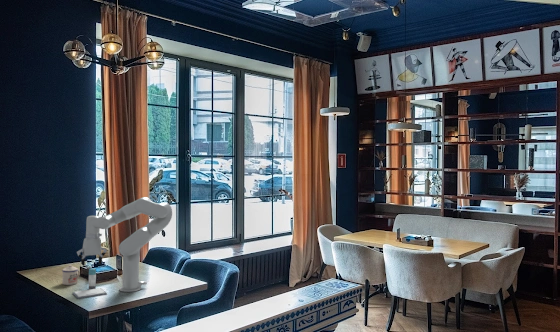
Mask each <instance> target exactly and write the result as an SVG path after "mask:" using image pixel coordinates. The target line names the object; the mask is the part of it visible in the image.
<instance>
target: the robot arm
mask: <svg viewBox="0 0 560 332" xmlns="http://www.w3.org/2000/svg"><path fill="white" fill-rule="evenodd" d="M141 214H143V215H145V216H149V217H153V219H152V220H151V221H150V222H148V223H147V224H146V225H144V226H142V227H140V228H139V229H137V230H136V231H134V232H132V234H130V235H129V236H128V237H127V238H125V239H124V240H123V241H121V242H120V244H119V246H118V252H119V254H120V255H121V256H122V282H121V283H122V286H120V287H119V291H121V292H123V293H134V292H137V291H141V290H142V286H146V285H147V281H146V280H145V281H143V280H140V277H139V275H140V252H141V249H142V248H143V247H144V246H145V245H147V244H148V243H149V242H151V241H152V239H153V238H154V237H156V236H157V235H158V234H159V233H160V232H161V231H163V230H164V229H165V228H166V227H167V226H168V225H169V224H170V222H171V221H172V218H173V208H172V206H171V205H170V203H169V202H161V203H158V202H154V201H152V199H151V198H149V197H147V196H143V197H140V198H138V199H136V200H135V201H132V202H130V203H127V204H126V205H124V206H122V207H121V208H120V209H119V208H118V209H117V210H116V211H113V212H112V213H111V212H110V213H109V214H107V215H104V216H99V215H89V216H87V217H86V224H85V225H86V226H85V227H86V228H85V229H86V231H85V238H84V239H83V242H82V248H81V249H79V250H78V251H76V254H77V256H78V257H79V258H80V261H81V262H80V265H82V266H85V265H86V264H85V262H86V261H85V260H86V259H85V258H86V257H88V256H98V264H100V265H102V263H103V257H104V256H105V255H106V253H107V251H108V249H107V248H104V247H102V239H101V237H102V235H103V233H100V229H101V230H107V229H109V228H111V227H113V226H115V225H118V224H119V223H122V222H123V221H127V220H131V219H132V218H135V217H137V216H138V215H141ZM102 251H103V252H102ZM81 253H82V255H81Z"/></svg>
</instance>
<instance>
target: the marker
mask: <svg viewBox="0 0 560 332" xmlns="http://www.w3.org/2000/svg"><path fill="white" fill-rule="evenodd" d="M96 282H97V269H96V268H95V267H94V268H89V269H88V290H90V289H97V287H96V286H97V283H96Z"/></svg>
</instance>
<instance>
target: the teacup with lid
mask: <svg viewBox="0 0 560 332" xmlns="http://www.w3.org/2000/svg"><path fill="white" fill-rule="evenodd" d="M61 271H62V280H61V282H62V285H63V286H73V285H76V284H77V283H78V278H79V277H80V276H81V270H79V268H78V267H75V266H73V265H72V264H68V266H66V267H64V268H62V270H61Z"/></svg>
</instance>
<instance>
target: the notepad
mask: <svg viewBox="0 0 560 332" xmlns="http://www.w3.org/2000/svg"><path fill="white" fill-rule="evenodd" d="M72 295H73V296H74V297H75V298H76V299H77V300H78V299H79V300H80V299H85V298H93V297H98V296H107V295H108V292H106V291H105V290H104V289H103V288H101V287H99V288H97V287H96V289H90V290H89V289H85V290H84V289H83V290H79V291H73V292H72Z"/></svg>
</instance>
